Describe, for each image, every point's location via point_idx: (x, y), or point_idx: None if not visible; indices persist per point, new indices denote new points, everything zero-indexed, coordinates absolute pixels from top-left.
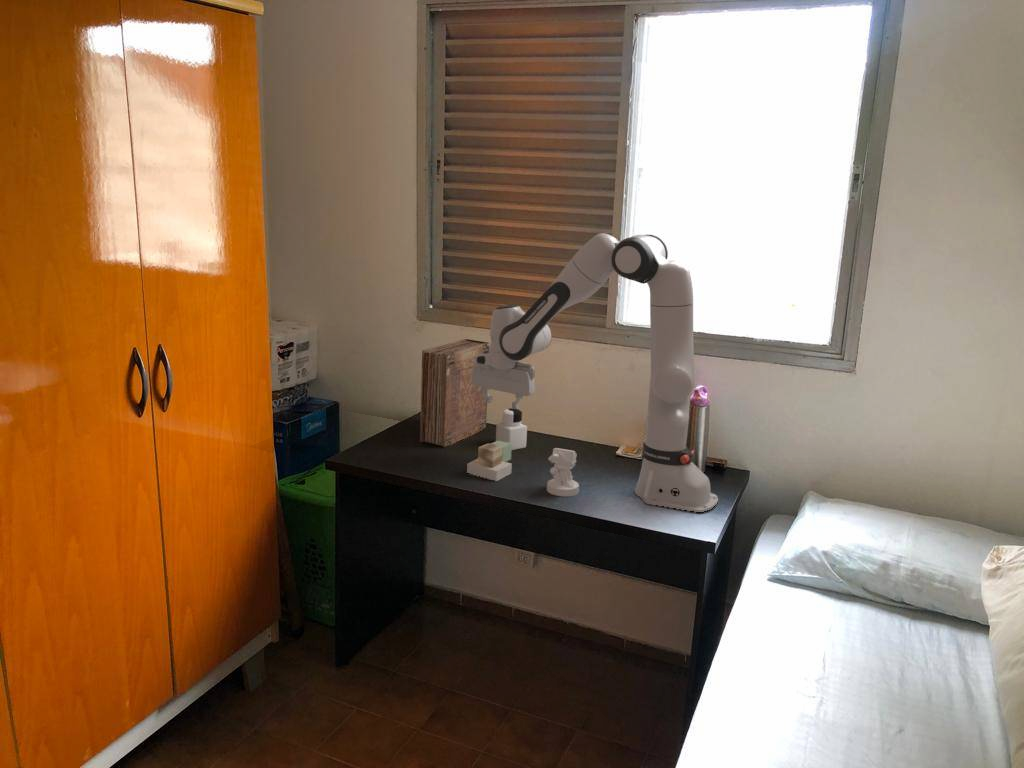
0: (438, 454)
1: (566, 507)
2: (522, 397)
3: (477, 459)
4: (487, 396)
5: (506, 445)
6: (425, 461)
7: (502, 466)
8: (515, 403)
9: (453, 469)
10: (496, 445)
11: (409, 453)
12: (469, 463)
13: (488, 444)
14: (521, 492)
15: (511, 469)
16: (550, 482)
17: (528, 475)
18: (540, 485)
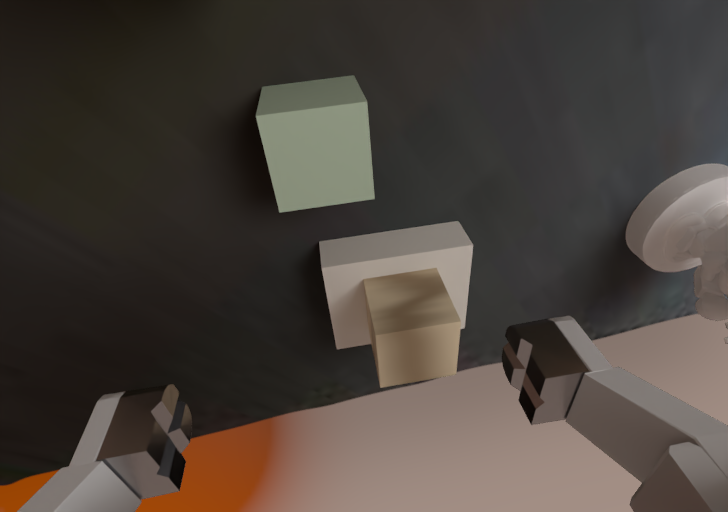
0: (80, 274)
1: None
2: (724, 435)
3: (333, 303)
4: (131, 497)
5: (362, 152)
6: (137, 345)
7: (457, 289)
8: (578, 412)
9: (271, 327)
10: (428, 330)
11: (9, 340)
12: (342, 345)
13: (389, 344)
14: (557, 306)
15: (463, 229)
16: (653, 246)
17: (525, 189)
18: (597, 231)
